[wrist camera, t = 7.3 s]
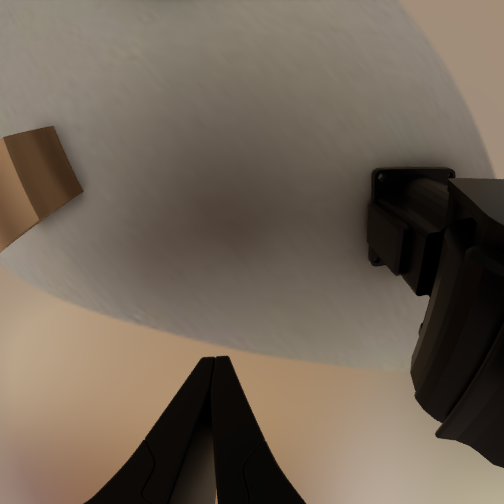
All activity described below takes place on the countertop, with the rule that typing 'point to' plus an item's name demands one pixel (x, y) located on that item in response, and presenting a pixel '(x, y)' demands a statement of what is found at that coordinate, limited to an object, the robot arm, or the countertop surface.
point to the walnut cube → (32, 181)
